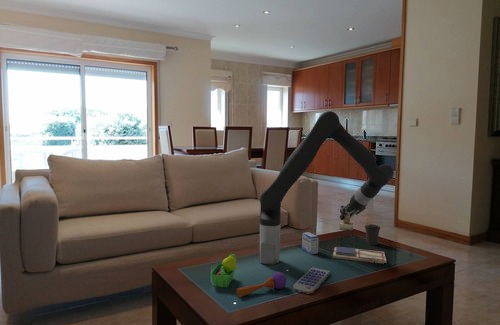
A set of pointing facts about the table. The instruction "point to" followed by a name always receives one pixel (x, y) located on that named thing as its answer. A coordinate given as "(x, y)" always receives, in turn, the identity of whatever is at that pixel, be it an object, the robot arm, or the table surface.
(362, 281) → the table surface
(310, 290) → the remote control
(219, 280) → the fruit basket
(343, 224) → the stamp
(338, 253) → the ink pad
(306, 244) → the medicine box
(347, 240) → the table surface
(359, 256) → the stamping board
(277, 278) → the kendama
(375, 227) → the coffee cup
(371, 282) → the table surface
